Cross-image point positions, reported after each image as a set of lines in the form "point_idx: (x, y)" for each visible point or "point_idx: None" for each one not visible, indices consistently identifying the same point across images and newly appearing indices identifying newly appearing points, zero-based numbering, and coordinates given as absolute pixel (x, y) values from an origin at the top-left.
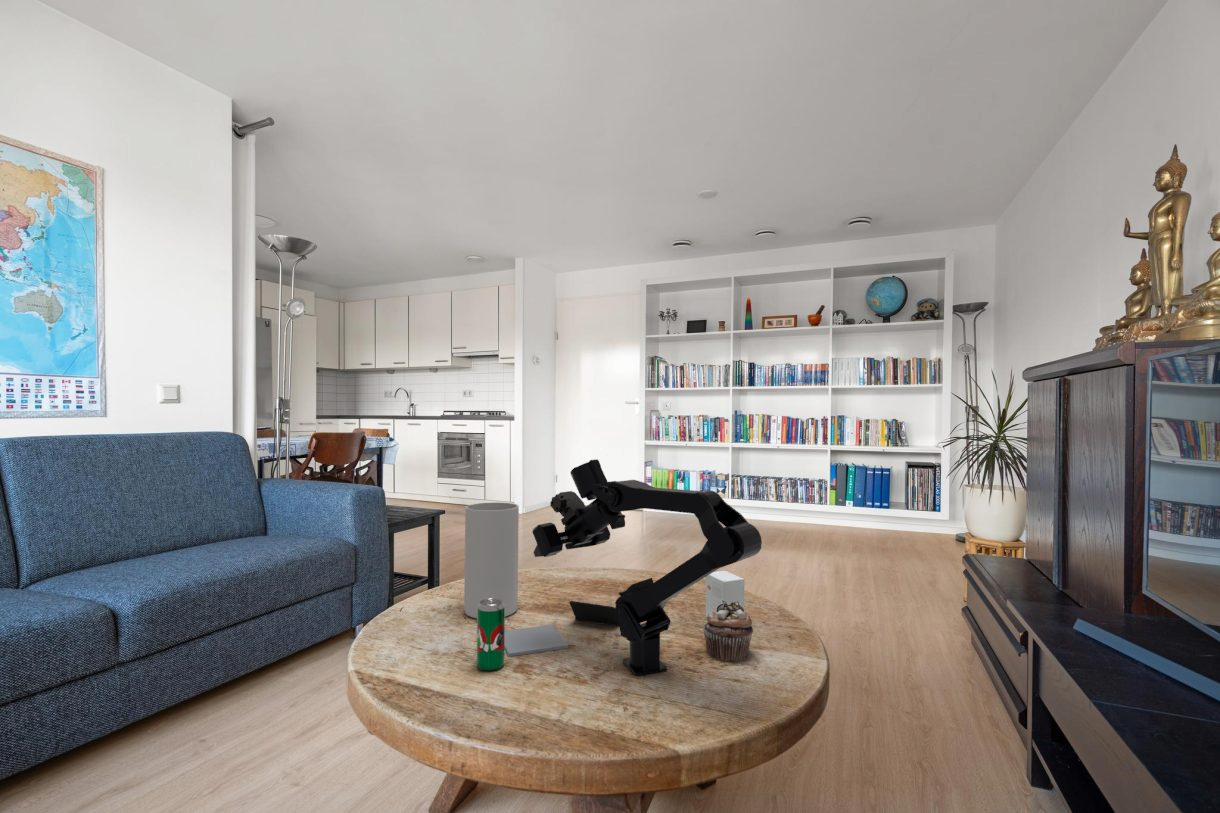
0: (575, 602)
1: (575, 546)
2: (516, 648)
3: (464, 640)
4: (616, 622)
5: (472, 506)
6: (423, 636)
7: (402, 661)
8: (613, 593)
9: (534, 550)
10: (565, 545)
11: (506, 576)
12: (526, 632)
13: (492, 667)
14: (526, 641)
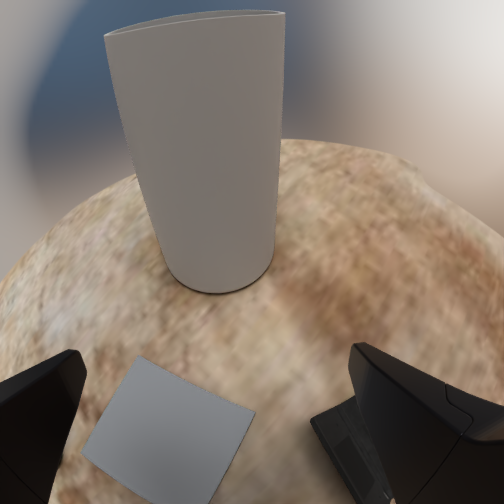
0: (320, 436)
1: (377, 441)
2: (103, 450)
3: (88, 331)
4: (385, 495)
5: (181, 19)
6: (72, 271)
7: (8, 324)
8: (476, 315)
9: (52, 358)
10: (352, 349)
11: (201, 232)
12: (174, 406)
13: None
14: (139, 443)
